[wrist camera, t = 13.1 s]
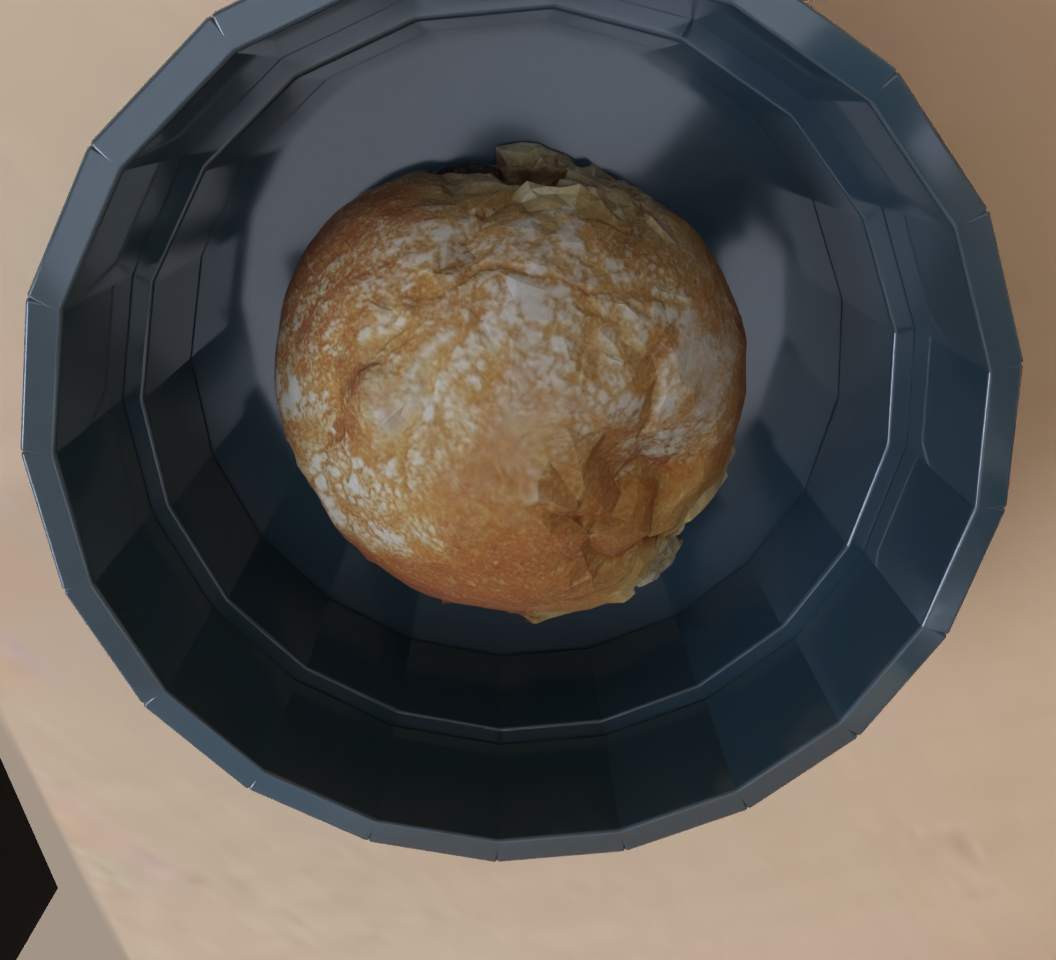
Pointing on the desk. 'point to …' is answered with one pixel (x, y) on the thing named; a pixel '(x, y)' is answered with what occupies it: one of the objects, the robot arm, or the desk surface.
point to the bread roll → (512, 381)
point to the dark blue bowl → (708, 539)
